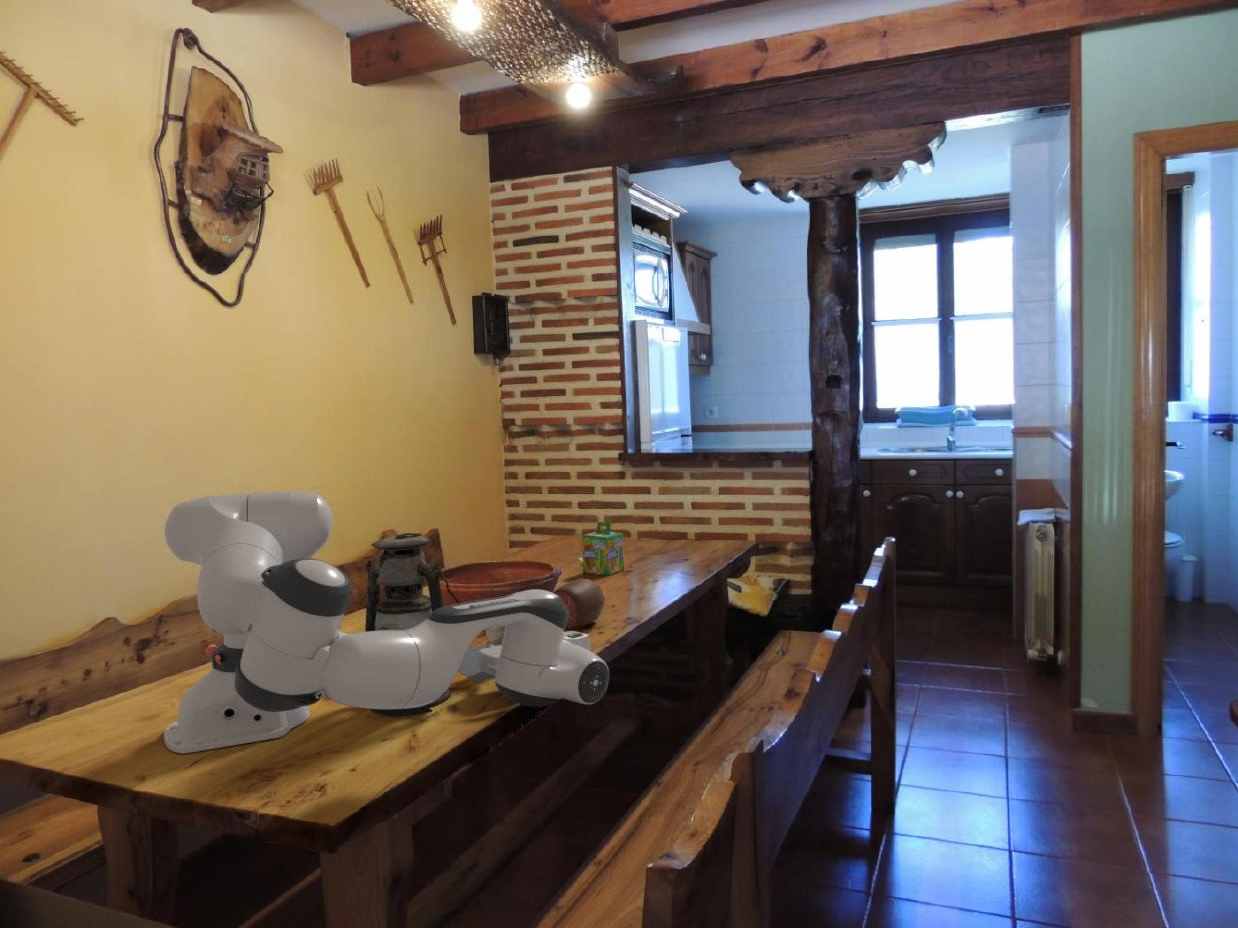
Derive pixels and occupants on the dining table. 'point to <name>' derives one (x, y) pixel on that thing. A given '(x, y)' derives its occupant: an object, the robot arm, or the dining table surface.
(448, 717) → the dining table surface
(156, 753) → the dining table surface
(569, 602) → the meat
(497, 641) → the wooden block
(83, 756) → the dining table surface
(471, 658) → the mat
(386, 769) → the dining table surface
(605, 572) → the chalk box
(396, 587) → the lantern
